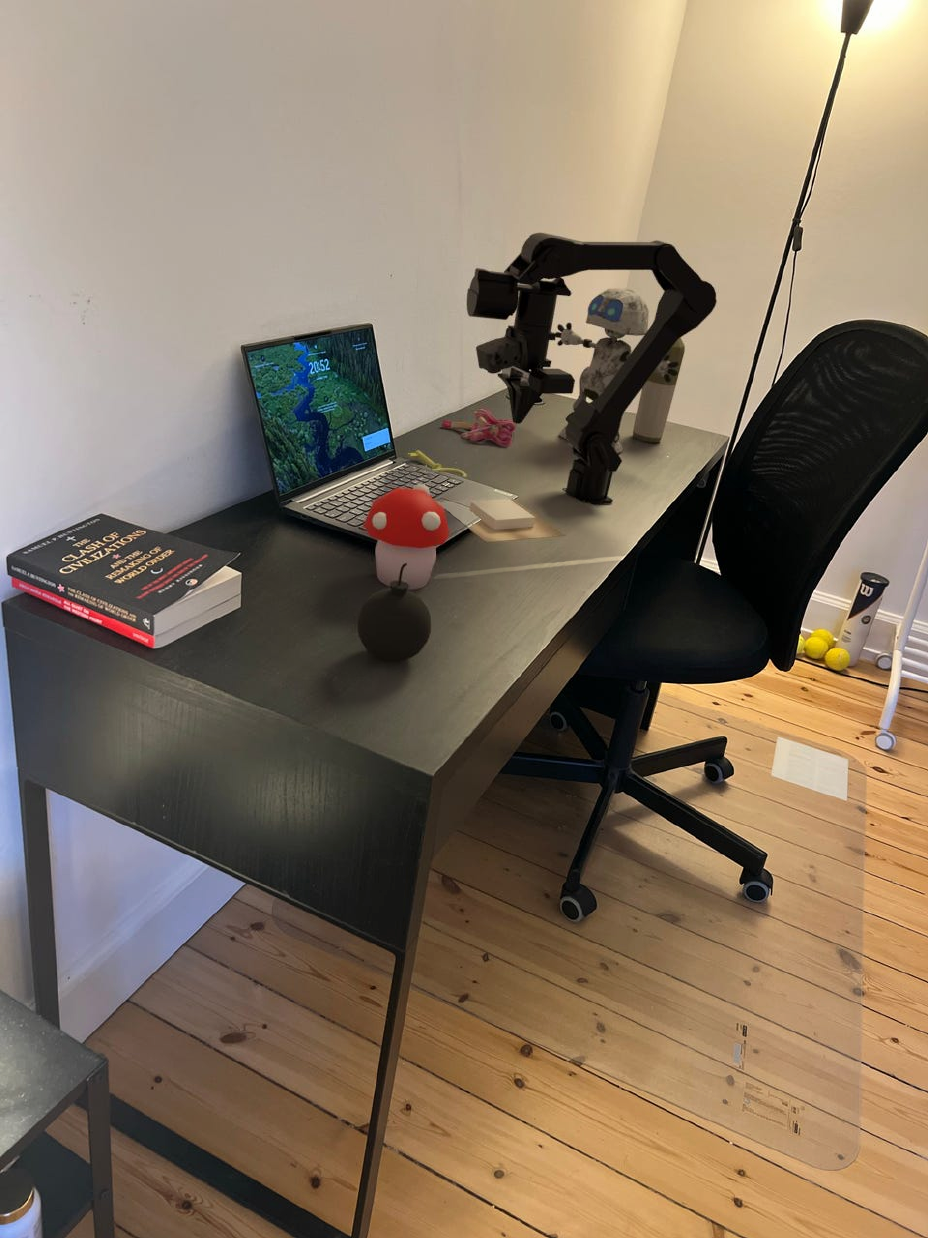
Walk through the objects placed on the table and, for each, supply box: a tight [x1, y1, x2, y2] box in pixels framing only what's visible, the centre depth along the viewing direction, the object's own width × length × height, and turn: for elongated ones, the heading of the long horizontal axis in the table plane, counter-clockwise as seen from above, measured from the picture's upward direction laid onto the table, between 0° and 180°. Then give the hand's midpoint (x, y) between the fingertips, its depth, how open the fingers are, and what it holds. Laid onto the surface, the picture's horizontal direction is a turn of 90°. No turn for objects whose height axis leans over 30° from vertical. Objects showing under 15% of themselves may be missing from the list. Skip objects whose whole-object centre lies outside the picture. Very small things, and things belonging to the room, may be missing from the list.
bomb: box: [356, 563, 432, 663], centre depth 100 cm, size 8×8×12 cm
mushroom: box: [362, 483, 451, 591], centre depth 119 cm, size 11×11×12 cm
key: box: [407, 450, 467, 477], centre depth 161 cm, size 7×12×2 cm, turn 53°
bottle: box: [632, 337, 686, 443], centre depth 194 cm, size 7×7×30 cm
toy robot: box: [555, 287, 679, 455], centre depth 185 cm, size 31×12×30 cm, turn 42°
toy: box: [441, 408, 517, 448], centre depth 183 cm, size 7×6×15 cm
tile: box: [469, 499, 535, 530], centre depth 143 cm, size 7×2×8 cm
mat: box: [468, 497, 567, 543], centre depth 144 cm, size 14×16×1 cm
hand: (516, 422), depth 151 cm, fingers closed
